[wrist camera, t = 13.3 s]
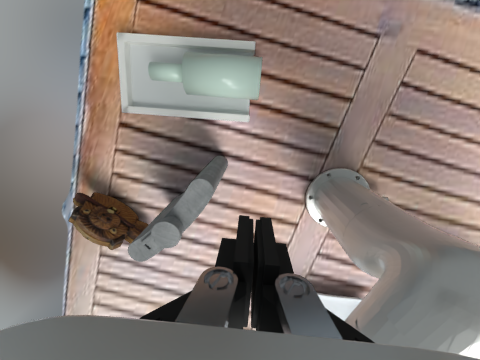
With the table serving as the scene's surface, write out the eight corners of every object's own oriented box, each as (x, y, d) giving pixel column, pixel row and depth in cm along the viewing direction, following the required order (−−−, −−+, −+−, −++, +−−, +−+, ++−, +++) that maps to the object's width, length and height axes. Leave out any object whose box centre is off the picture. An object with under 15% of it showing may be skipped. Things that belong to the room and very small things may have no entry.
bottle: (263, 49, 33) (143, 40, 33) (259, 94, 33) (142, 84, 34) (260, 66, 39) (160, 59, 40) (257, 104, 40) (158, 96, 40)
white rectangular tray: (255, 46, 39) (255, 41, 36) (249, 121, 42) (248, 122, 40) (124, 37, 39) (116, 32, 37) (129, 112, 43) (122, 112, 40)
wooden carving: (162, 221, 49) (140, 246, 39) (153, 236, 50) (129, 264, 40) (94, 181, 47) (54, 197, 37) (86, 198, 48) (45, 218, 38)
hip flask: (219, 152, 44) (194, 178, 25) (234, 166, 45) (220, 203, 25) (168, 204, 47) (112, 262, 28) (182, 216, 48) (137, 282, 29)
